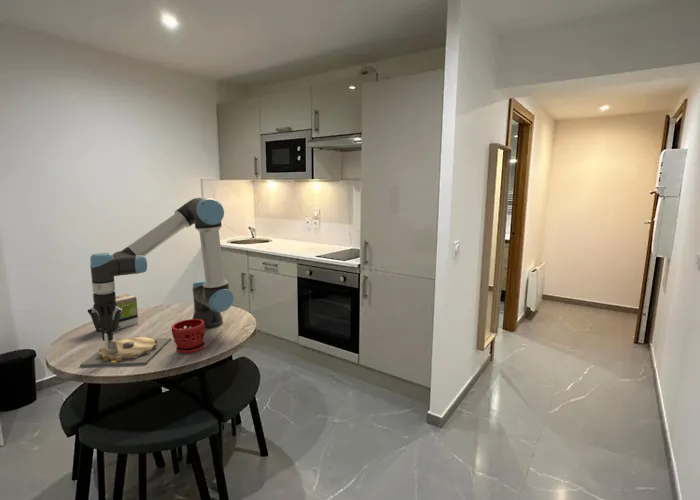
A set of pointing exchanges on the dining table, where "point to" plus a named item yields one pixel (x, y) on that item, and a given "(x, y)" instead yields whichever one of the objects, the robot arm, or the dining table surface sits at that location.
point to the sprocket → (127, 348)
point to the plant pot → (189, 335)
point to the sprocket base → (139, 360)
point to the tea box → (126, 310)
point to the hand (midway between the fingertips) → (108, 347)
